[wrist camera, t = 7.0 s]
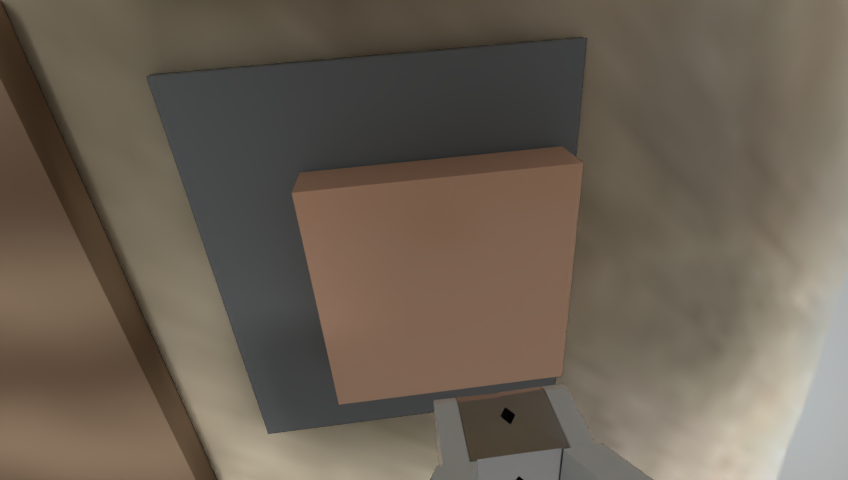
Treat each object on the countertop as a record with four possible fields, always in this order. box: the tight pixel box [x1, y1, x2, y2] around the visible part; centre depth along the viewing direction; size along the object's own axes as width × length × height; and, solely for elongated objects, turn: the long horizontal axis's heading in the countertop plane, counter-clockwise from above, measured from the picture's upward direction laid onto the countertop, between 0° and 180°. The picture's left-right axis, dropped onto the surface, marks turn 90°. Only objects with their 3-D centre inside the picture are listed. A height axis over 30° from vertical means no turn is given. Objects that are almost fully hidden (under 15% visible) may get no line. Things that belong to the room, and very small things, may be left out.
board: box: [0, 1, 217, 480], centre depth 15 cm, size 20×8×1 cm, turn 4°
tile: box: [292, 146, 583, 405], centre depth 15 cm, size 8×2×8 cm
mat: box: [146, 37, 587, 434], centre depth 16 cm, size 14×12×1 cm
